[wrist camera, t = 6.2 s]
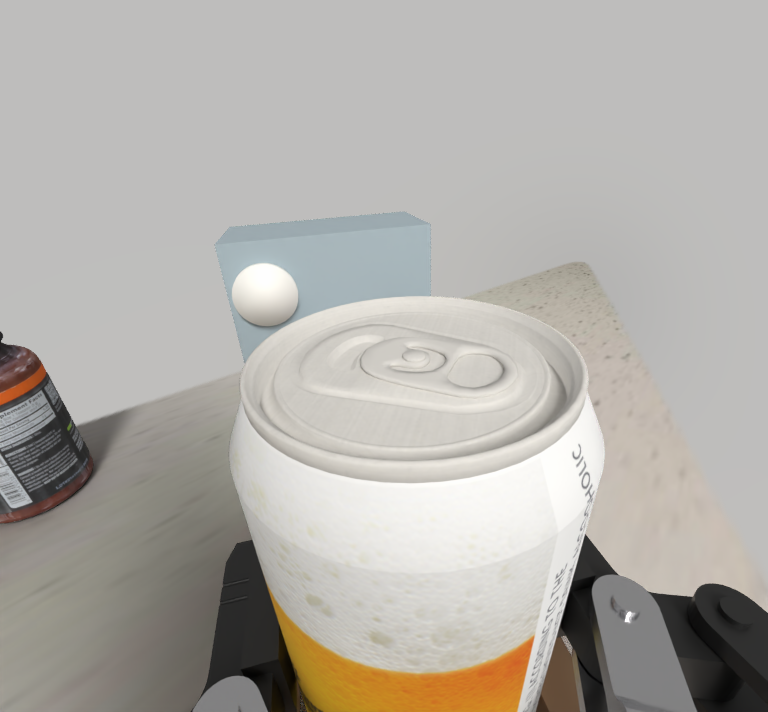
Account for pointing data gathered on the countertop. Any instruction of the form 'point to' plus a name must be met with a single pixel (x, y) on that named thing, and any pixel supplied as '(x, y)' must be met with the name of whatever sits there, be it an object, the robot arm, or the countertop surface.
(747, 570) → the countertop surface
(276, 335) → the beer can
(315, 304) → the end cabinet
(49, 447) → the supplement bottle
